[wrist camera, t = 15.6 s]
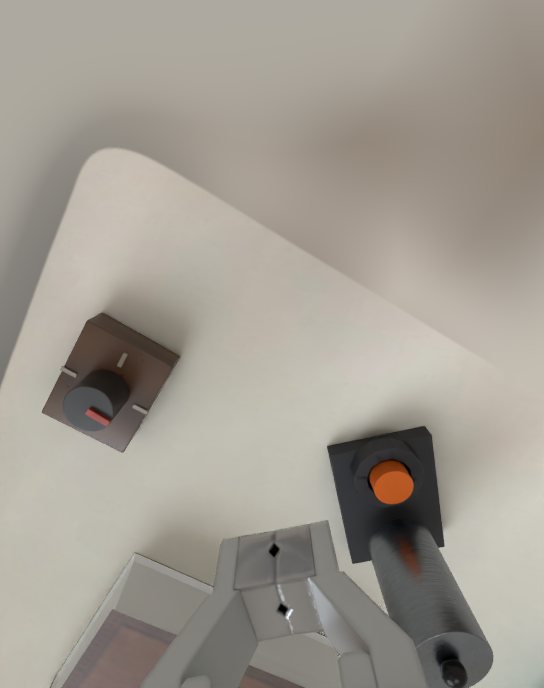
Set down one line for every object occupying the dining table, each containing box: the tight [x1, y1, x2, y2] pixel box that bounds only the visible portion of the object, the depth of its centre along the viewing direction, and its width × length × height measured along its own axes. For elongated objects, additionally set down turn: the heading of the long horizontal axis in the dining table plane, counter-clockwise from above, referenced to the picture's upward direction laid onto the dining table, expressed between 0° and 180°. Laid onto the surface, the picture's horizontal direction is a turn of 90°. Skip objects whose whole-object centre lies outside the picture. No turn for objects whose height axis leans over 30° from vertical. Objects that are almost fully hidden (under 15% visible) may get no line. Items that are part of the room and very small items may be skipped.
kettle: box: [368, 518, 493, 688], centre depth 33 cm, size 8×8×12 cm
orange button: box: [370, 460, 414, 504], centre depth 36 cm, size 4×4×2 cm
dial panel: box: [42, 313, 180, 453], centre depth 35 cm, size 10×8×3 cm
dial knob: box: [63, 370, 128, 431], centre depth 32 cm, size 4×4×4 cm
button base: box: [327, 426, 444, 564], centre depth 39 cm, size 15×10×4 cm
